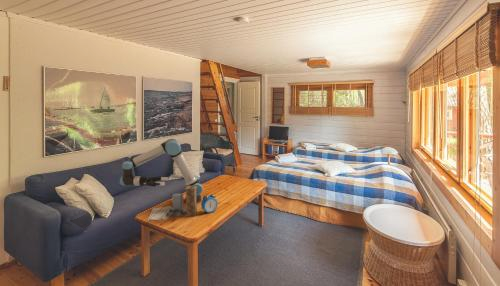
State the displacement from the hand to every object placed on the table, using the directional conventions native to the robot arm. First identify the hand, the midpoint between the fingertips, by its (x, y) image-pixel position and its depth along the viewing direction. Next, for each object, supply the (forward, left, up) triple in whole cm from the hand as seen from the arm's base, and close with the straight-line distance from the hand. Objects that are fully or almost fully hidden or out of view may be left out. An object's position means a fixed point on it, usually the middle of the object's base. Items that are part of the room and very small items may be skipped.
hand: (166, 181), depth 215 cm
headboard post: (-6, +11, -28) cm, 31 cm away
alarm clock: (-22, +26, -28) cm, 45 cm away
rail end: (-10, +1, -28) cm, 30 cm away
